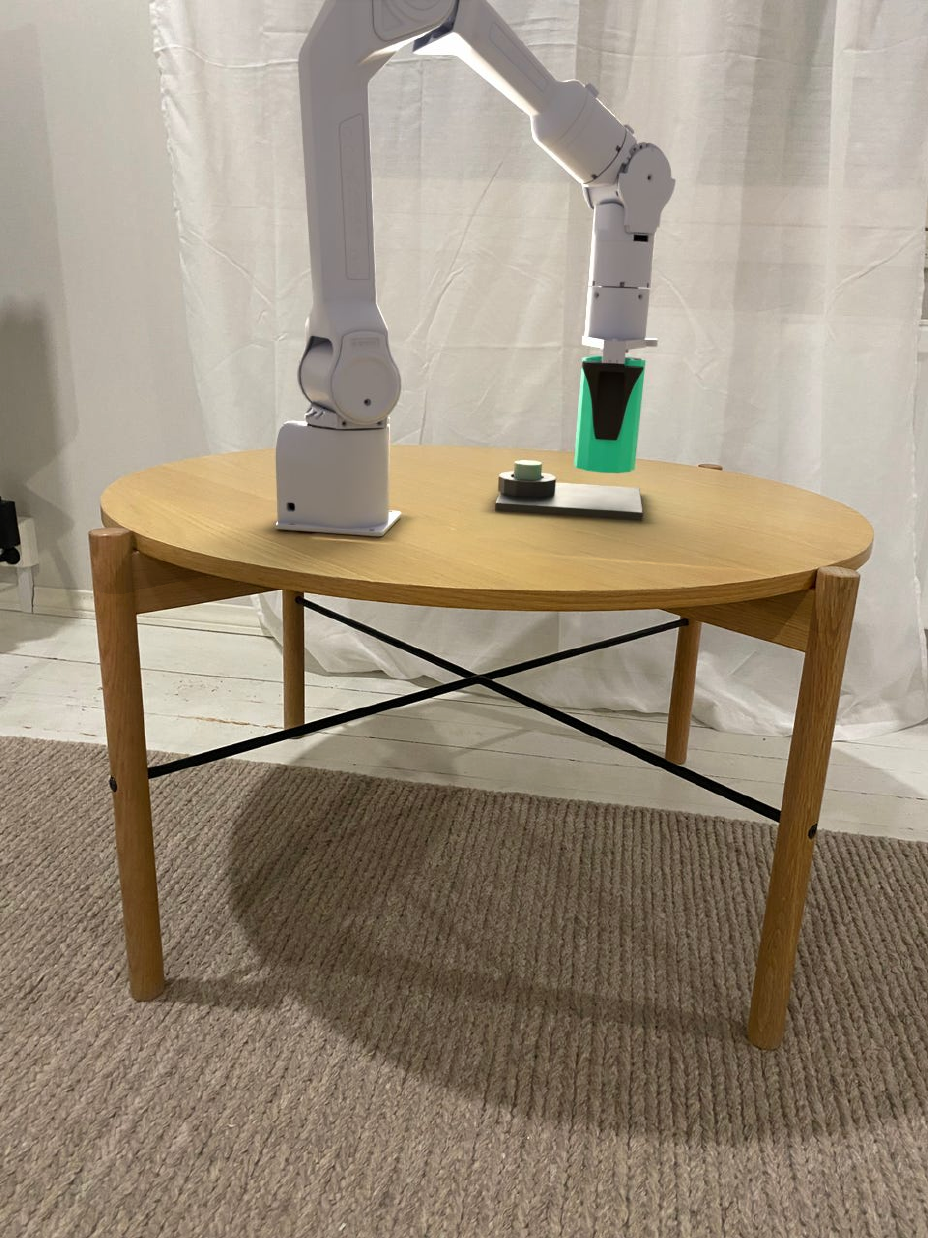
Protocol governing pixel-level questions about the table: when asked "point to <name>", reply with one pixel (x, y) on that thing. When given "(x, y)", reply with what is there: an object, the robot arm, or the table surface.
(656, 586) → the table surface
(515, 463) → the button
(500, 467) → the table surface
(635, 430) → the candle
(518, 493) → the scale
